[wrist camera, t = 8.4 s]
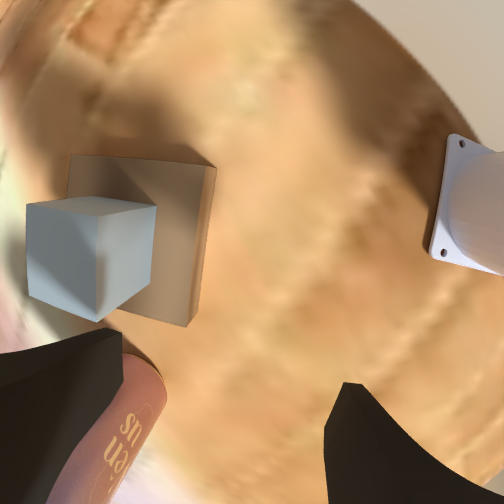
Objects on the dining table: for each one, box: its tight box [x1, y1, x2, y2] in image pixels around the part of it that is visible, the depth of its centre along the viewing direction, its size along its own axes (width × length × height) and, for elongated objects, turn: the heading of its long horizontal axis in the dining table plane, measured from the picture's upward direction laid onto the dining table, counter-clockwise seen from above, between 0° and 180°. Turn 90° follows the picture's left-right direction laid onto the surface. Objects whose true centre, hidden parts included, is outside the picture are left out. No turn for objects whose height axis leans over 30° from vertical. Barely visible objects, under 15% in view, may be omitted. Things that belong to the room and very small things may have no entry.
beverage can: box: [46, 353, 167, 504], centre depth 14 cm, size 6×6×15 cm
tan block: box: [66, 155, 217, 328], centre depth 18 cm, size 9×9×3 cm
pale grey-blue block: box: [26, 196, 157, 323], centre depth 13 cm, size 4×4×6 cm
